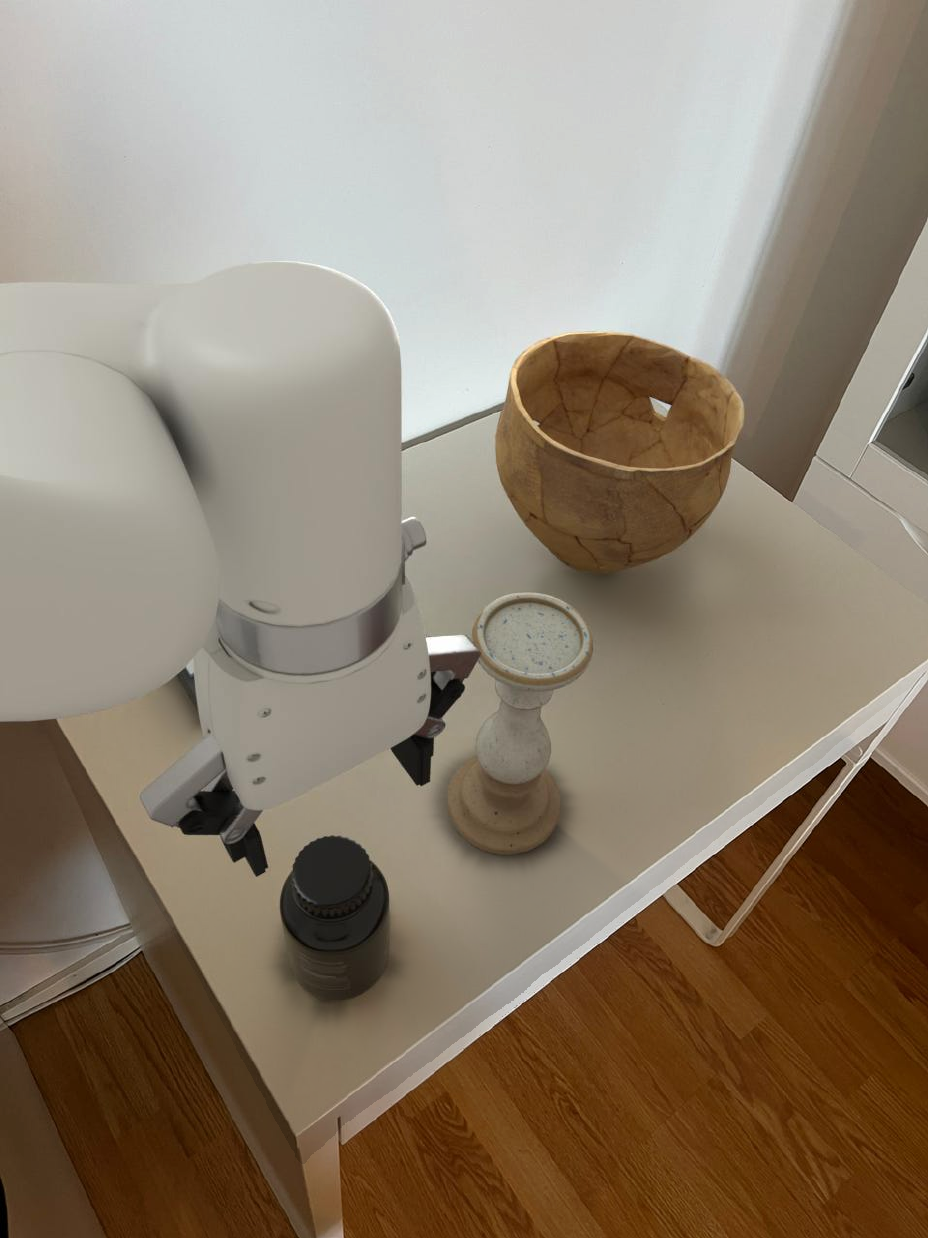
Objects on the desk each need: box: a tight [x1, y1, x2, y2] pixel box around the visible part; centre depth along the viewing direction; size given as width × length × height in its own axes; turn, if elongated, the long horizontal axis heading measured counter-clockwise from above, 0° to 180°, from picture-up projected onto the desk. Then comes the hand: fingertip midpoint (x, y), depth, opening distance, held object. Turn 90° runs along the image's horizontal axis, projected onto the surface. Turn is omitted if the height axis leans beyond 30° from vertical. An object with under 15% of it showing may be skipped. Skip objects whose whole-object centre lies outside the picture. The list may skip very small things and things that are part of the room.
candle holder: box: [446, 591, 594, 855], centre depth 65 cm, size 9×9×20 cm
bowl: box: [494, 330, 745, 575], centre depth 83 cm, size 21×20×20 cm
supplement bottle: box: [279, 834, 391, 1002], centre depth 59 cm, size 7×7×12 cm
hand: (332, 807), depth 50 cm, fingers open, 9 cm apart
